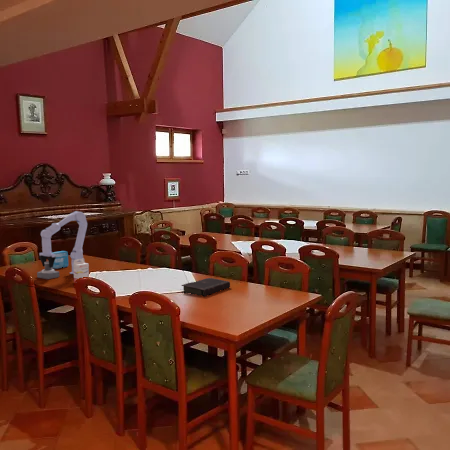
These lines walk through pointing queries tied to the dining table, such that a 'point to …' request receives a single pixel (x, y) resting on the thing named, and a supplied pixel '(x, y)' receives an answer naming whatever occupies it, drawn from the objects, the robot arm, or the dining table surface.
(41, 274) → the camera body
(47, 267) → the lens
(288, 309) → the dining table surface
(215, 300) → the dining table surface
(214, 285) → the diary
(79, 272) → the ink cartridge box
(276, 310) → the dining table surface
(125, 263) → the dining table surface
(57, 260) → the data package
